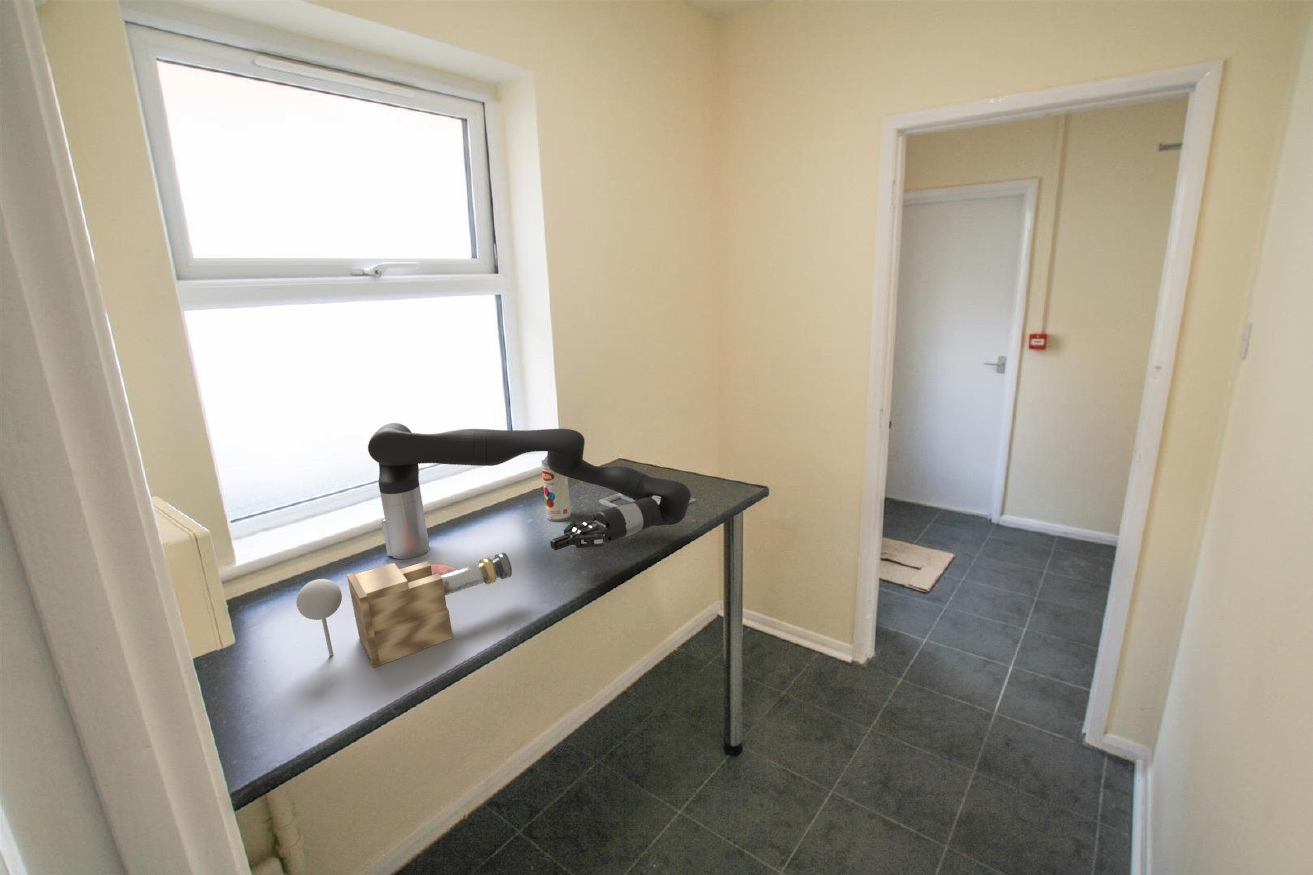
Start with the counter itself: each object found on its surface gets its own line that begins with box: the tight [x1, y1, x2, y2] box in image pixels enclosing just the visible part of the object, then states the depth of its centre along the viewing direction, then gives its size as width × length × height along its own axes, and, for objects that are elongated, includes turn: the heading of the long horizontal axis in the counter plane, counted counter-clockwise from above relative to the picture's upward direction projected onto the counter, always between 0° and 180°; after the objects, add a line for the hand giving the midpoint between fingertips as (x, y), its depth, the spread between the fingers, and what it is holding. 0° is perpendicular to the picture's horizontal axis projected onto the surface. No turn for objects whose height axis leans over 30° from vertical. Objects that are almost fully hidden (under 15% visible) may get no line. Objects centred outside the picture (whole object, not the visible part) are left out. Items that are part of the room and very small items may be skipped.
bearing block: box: [346, 560, 454, 668], centre depth 114 cm, size 14×12×14 cm
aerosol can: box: [540, 455, 572, 523], centre depth 171 cm, size 7×7×20 cm
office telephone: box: [598, 492, 697, 508], centre depth 182 cm, size 23×3×20 cm
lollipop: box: [296, 578, 343, 657], centre depth 110 cm, size 7×7×15 cm
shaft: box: [440, 552, 513, 596], centre depth 121 cm, size 17×5×5 cm, turn 126°
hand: (552, 545), depth 131 cm, fingers closed
